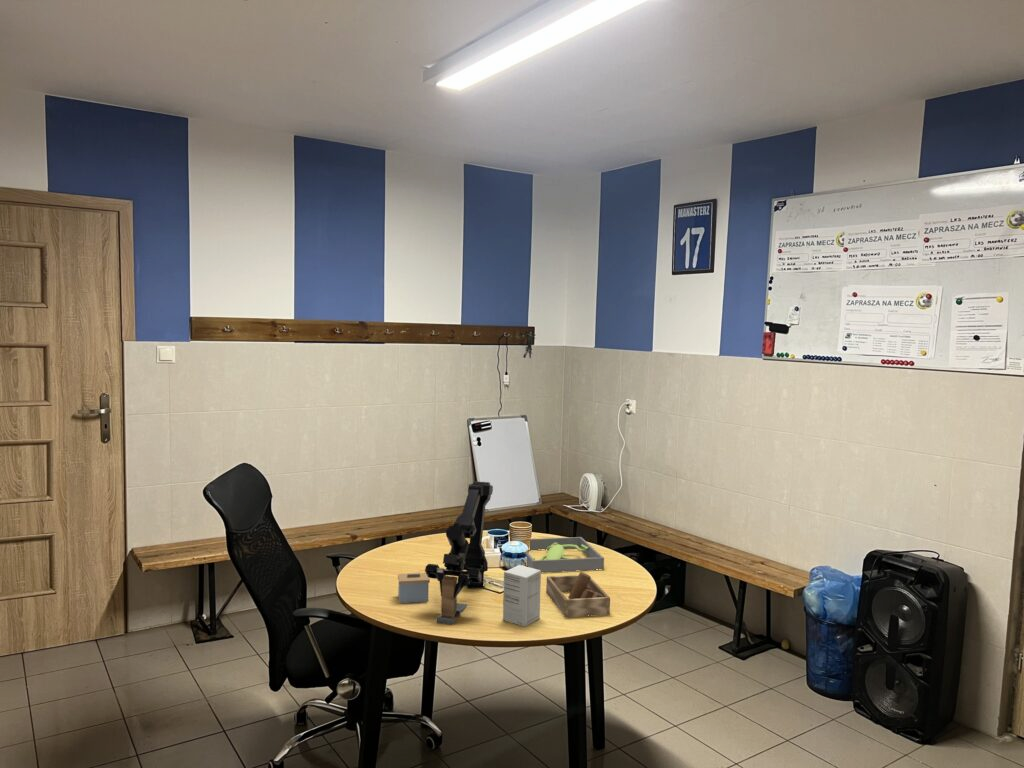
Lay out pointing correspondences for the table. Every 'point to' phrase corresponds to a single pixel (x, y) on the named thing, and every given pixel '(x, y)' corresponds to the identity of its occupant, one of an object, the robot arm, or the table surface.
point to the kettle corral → (561, 565)
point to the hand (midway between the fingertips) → (447, 596)
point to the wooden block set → (583, 588)
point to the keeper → (448, 618)
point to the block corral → (576, 605)
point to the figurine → (559, 551)
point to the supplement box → (521, 595)
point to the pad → (461, 606)
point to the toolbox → (413, 587)
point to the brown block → (448, 596)
